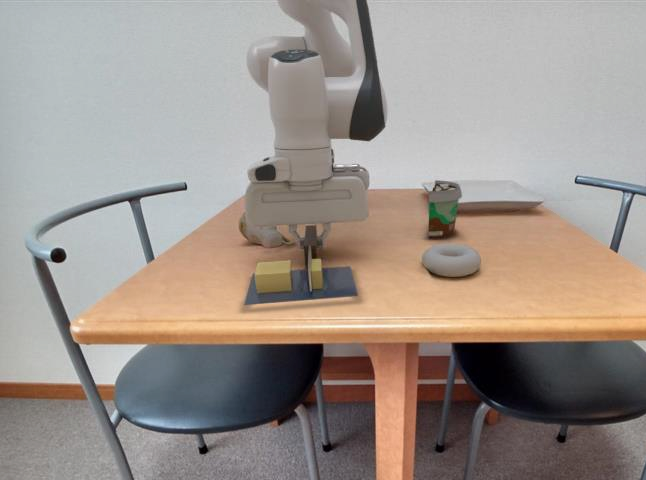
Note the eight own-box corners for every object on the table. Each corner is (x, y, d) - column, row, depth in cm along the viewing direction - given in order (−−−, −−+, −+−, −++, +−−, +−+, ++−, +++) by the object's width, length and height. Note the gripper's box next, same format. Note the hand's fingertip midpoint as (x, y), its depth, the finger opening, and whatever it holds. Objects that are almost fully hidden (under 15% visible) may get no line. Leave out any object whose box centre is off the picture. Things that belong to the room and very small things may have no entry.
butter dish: (253, 278, 71) (250, 255, 69) (350, 271, 73) (349, 249, 72) (244, 311, 60) (240, 285, 59) (358, 302, 63) (357, 276, 61)
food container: (457, 243, 87) (461, 192, 82) (427, 241, 88) (429, 191, 83) (460, 225, 97) (463, 180, 93) (433, 224, 99) (435, 179, 94)
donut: (411, 273, 73) (466, 284, 68) (411, 254, 71) (468, 264, 66) (436, 256, 80) (488, 264, 75) (437, 238, 79) (490, 245, 74)
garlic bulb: (262, 258, 80) (236, 209, 79) (255, 264, 89) (231, 220, 88) (298, 241, 83) (272, 193, 82) (287, 249, 92) (264, 206, 91)
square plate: (510, 191, 130) (512, 178, 128) (544, 215, 105) (547, 199, 103) (420, 193, 129) (421, 179, 127) (433, 217, 104) (434, 201, 102)
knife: (307, 246, 81) (305, 225, 79) (318, 245, 81) (316, 225, 80) (304, 292, 62) (301, 266, 61) (318, 291, 62) (315, 265, 61)
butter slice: (312, 276, 69) (311, 259, 68) (322, 276, 69) (321, 258, 68) (312, 289, 64) (311, 270, 63) (322, 288, 65) (321, 270, 63)
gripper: (366, 160, 73) (368, 239, 79) (242, 164, 71) (254, 245, 77) (371, 166, 68) (373, 250, 74) (236, 171, 65) (249, 257, 71)
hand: (311, 248), depth 75 cm, fingers closed on knife, 2 cm apart
